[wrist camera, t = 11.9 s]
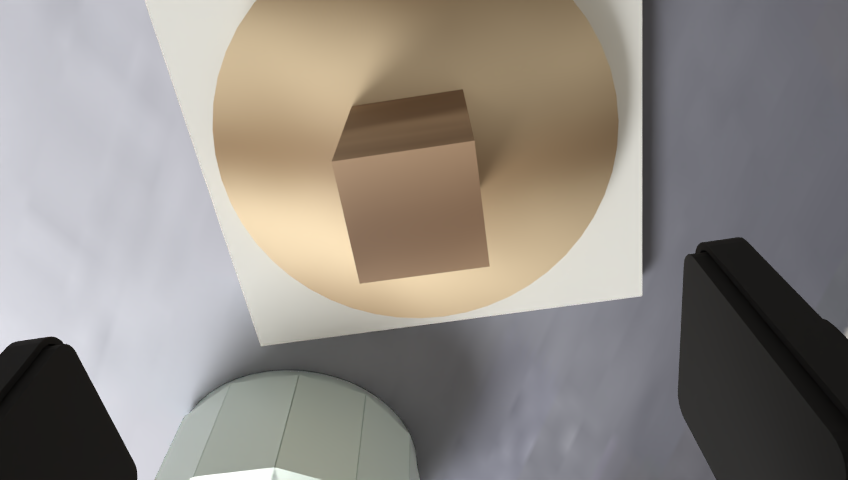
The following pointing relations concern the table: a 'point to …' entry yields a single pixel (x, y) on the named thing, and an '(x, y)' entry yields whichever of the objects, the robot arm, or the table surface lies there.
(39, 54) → the table surface
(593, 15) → the mat
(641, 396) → the table surface
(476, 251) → the lid
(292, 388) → the bowl
